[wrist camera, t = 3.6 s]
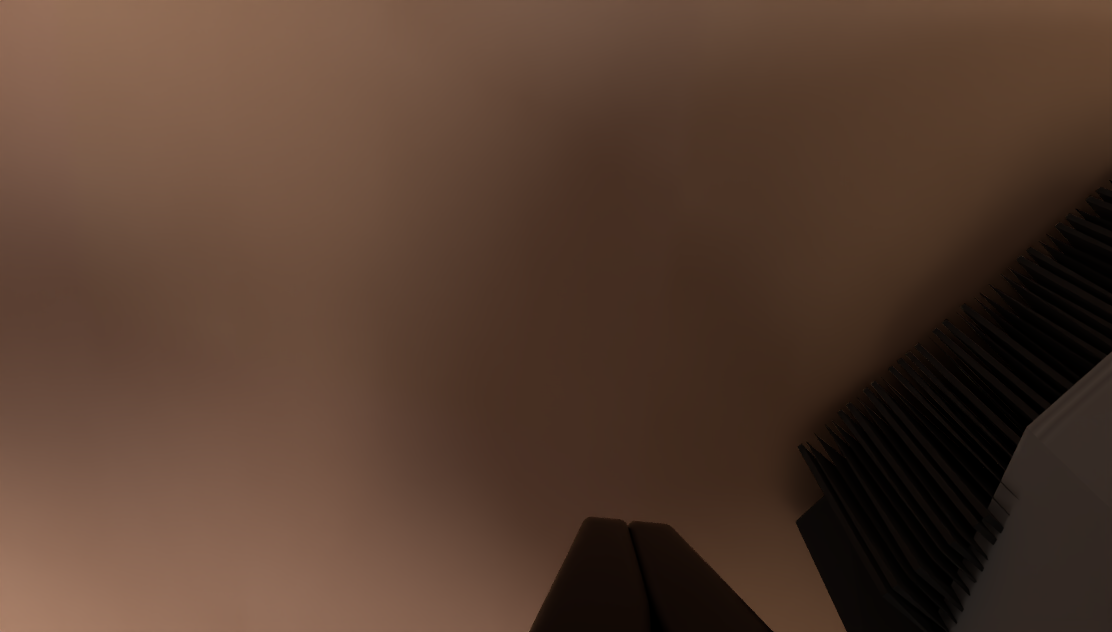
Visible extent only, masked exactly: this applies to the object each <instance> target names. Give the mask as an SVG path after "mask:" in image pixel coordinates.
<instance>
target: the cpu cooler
mask: <svg viewBox="0 0 1112 632" xmlns="http://www.w3.org/2000/svg"><path fill="white" fill-rule="evenodd" d="M1109 181H1110V182H1111V183H1112V181H1111V180H1109ZM1096 192H1097V193H1098V195H1099V196H1100V197H1101V198H1102V199H1103V201H1102V200H1100V199H1097V198H1095V197H1092V196H1089V197H1088V198H1087V199H1086V200H1085V201H1086V202H1087V203H1088V204H1089V205H1090V206H1091V208H1092V209H1093V210H1094V211H1095V212H1096V213H1097V215H1098V216H1099V217H1100V218H1098V217H1096V216H1093V215H1091V214H1088V213H1085V212H1083V211H1080V210H1078V209H1076V210H1077V211H1078V212H1079V213H1080V214H1081V216H1082V217H1083V218H1084V219H1085V220H1084V219H1082V218H1080V217H1077V216H1075V215H1073V214H1068V215H1067V216H1066V217H1065V218H1066V219H1067V220H1068V222H1069V223H1070V224H1071V225H1072V226H1073V227H1074V229H1073V228H1071V227H1069V226H1067V225H1065V224H1063V223H1061V222H1059V223H1058V224H1057V225H1056V226H1055V227H1056V228H1057V229H1058V231H1059V232H1060V233H1061V234H1062V235H1063V236H1064V237H1065V238H1066V239H1067V240H1068V241H1069V243H1070V244H1071V245H1072V246H1073V247H1072V246H1070V245H1068V244H1066V243H1064V242H1062V241H1060V240H1057V239H1055V238H1053V237H1051V236H1049V235H1047V234H1046V235H1047V236H1048V237H1049V238H1050V239H1051V240H1052V241H1053V242H1054V244H1055V245H1056V246H1057V247H1058V248H1059V249H1060V250H1061V252H1062V253H1061V252H1059V251H1057V250H1055V249H1053V248H1051V247H1050V246H1048V245H1046V244H1044V243H1042V242H1040V241H1039V242H1040V243H1041V244H1042V245H1043V246H1044V248H1045V249H1046V250H1047V251H1048V252H1049V253H1050V254H1051V255H1052V257H1053V258H1054V259H1055V260H1056V261H1057V262H1056V261H1054V260H1053V259H1051V258H1049V257H1047V256H1046V255H1044V254H1042V253H1041V252H1039V251H1037V250H1035V249H1034V248H1032V247H1030V248H1029V249H1028V250H1026V252H1027V253H1028V254H1029V255H1030V256H1031V257H1032V258H1033V259H1034V260H1035V262H1036V263H1037V264H1038V265H1037V264H1035V263H1033V262H1032V261H1030V260H1028V259H1026V258H1024V257H1023V256H1019V257H1018V258H1017V259H1016V260H1017V262H1018V263H1019V264H1020V265H1021V266H1022V267H1023V268H1024V269H1025V270H1026V271H1027V272H1028V274H1029V275H1030V276H1031V277H1032V278H1033V279H1034V280H1035V281H1036V282H1037V283H1036V282H1034V281H1032V280H1031V279H1029V278H1027V277H1025V276H1023V275H1021V274H1020V273H1018V272H1016V271H1014V270H1012V269H1010V268H1009V267H1008V268H1009V269H1010V270H1011V271H1012V272H1013V273H1014V275H1015V276H1016V277H1017V278H1018V279H1019V280H1020V281H1021V282H1022V283H1023V284H1024V285H1025V287H1026V288H1027V289H1028V290H1029V291H1028V290H1027V289H1025V288H1023V287H1022V286H1020V285H1018V284H1017V283H1015V282H1013V281H1012V280H1010V279H1008V278H1007V277H1005V276H1003V275H1002V274H1001V275H1002V276H1003V277H1004V279H1005V280H1006V281H1007V282H1008V283H1009V284H1010V285H1011V286H1012V287H1013V288H1014V289H1015V290H1016V292H1017V293H1018V294H1019V295H1020V296H1021V297H1022V298H1023V299H1024V300H1025V301H1026V302H1027V303H1028V304H1029V306H1030V307H1031V308H1032V309H1033V310H1034V311H1033V310H1031V309H1030V308H1028V307H1026V306H1025V305H1023V304H1021V303H1020V302H1018V301H1016V300H1015V299H1013V298H1011V297H1010V296H1008V295H1006V294H1005V293H1003V292H1001V291H1000V290H998V289H996V288H995V287H993V286H992V285H990V284H989V285H990V286H991V287H992V288H993V289H994V290H995V291H996V292H997V293H998V295H999V296H1000V297H1001V298H1002V299H1003V300H1004V301H1005V302H1006V303H1007V304H1008V305H1009V306H1010V307H1011V308H1012V309H1013V310H1014V312H1015V313H1016V314H1017V315H1018V316H1019V317H1020V318H1019V317H1017V316H1016V315H1014V314H1013V313H1011V312H1010V311H1008V310H1006V309H1005V308H1003V307H1002V306H1000V305H999V304H997V303H995V302H994V301H992V300H991V299H989V298H987V297H986V296H984V295H983V294H981V293H980V292H979V293H980V294H981V295H982V296H983V297H984V298H985V299H986V300H987V301H988V302H989V303H990V304H991V305H992V306H993V307H994V308H995V309H996V310H997V311H998V312H999V313H1000V314H1001V315H1002V316H1003V317H1004V318H1005V319H1006V320H1007V321H1008V322H1009V323H1010V324H1011V325H1012V326H1011V325H1010V324H1009V323H1007V322H1006V321H1005V320H1003V319H1002V318H1001V317H1000V316H998V315H997V314H996V313H994V312H993V311H992V310H990V309H989V308H988V307H986V306H985V305H984V304H982V303H981V302H980V301H978V300H977V299H976V298H975V299H976V300H977V301H978V302H979V304H980V305H981V306H982V307H983V308H984V309H985V310H986V311H987V312H988V313H989V314H990V316H991V317H992V318H993V319H994V320H995V321H996V322H997V323H998V324H999V325H1000V326H1001V328H1002V329H1003V330H1004V331H1005V332H1006V333H1007V334H1008V335H1009V336H1010V337H1011V338H1010V337H1009V336H1008V335H1006V334H1005V333H1004V332H1002V331H1001V330H1000V329H998V328H997V327H996V326H994V325H993V324H992V323H990V322H989V321H988V320H986V319H985V318H984V317H982V316H981V315H980V314H978V313H977V312H975V311H974V310H973V309H971V308H970V307H969V306H967V305H966V304H963V305H962V306H961V307H960V308H961V309H962V310H963V311H964V312H965V313H966V314H967V315H968V316H969V317H970V318H971V319H972V320H973V321H974V322H975V323H976V324H977V325H978V326H979V327H980V328H981V329H982V330H983V331H984V333H985V334H986V335H987V336H988V337H987V336H986V335H985V334H983V333H982V332H981V331H980V330H978V329H977V328H976V327H975V326H973V325H972V324H971V323H970V322H968V321H967V320H966V319H965V318H963V317H962V316H961V315H960V314H959V315H960V316H961V317H962V318H963V320H964V321H965V322H966V323H967V324H968V325H969V326H970V327H971V328H972V329H973V330H974V331H975V332H976V333H977V334H978V335H979V336H980V337H981V338H982V339H983V340H984V341H985V342H986V343H987V344H988V345H989V346H990V347H991V348H992V349H993V350H994V351H995V352H996V353H997V354H998V355H999V356H1000V357H1001V358H1002V359H1003V360H1004V361H1005V362H1006V364H1007V365H1008V366H1009V367H1010V368H1011V369H1012V370H1013V371H1014V372H1015V373H1016V374H1017V375H1018V376H1019V377H1020V378H1021V379H1022V380H1023V381H1024V382H1025V383H1026V384H1027V385H1026V384H1025V383H1024V382H1023V381H1021V380H1020V379H1019V378H1018V377H1017V376H1015V375H1014V374H1013V373H1012V372H1010V371H1009V370H1008V369H1007V368H1005V367H1004V366H1003V365H1002V364H1001V363H999V362H998V361H997V360H996V359H994V358H993V357H992V356H991V355H990V354H988V353H987V352H986V351H985V350H983V349H982V348H981V347H980V346H978V345H977V344H976V343H975V342H974V341H972V340H971V339H970V338H969V337H967V336H966V335H965V334H964V333H963V332H961V331H960V330H959V329H958V328H956V327H955V326H954V325H953V324H951V323H950V322H949V321H948V320H947V319H946V320H945V321H944V322H942V324H943V325H944V326H945V327H946V328H947V329H948V330H950V331H951V332H952V333H953V334H954V335H955V336H956V337H957V338H958V339H959V340H960V341H961V342H962V343H963V344H964V345H965V346H966V347H967V348H968V349H969V350H970V351H971V352H972V353H974V354H975V355H976V356H977V357H978V358H979V359H980V360H981V361H982V362H983V363H984V364H985V365H986V366H987V367H988V368H989V369H990V370H991V371H992V372H993V373H994V374H995V375H996V376H998V377H999V378H1000V379H1001V380H1002V381H1003V382H1004V383H1005V384H1006V385H1007V386H1008V387H1009V388H1010V389H1011V390H1012V391H1013V392H1014V393H1015V394H1016V395H1017V396H1016V395H1015V394H1014V393H1013V392H1012V391H1011V390H1009V389H1008V388H1007V387H1006V386H1005V385H1003V384H1002V383H1001V382H1000V381H999V380H998V379H996V378H995V377H994V376H993V375H992V374H991V373H989V372H988V371H987V370H986V369H985V368H984V367H982V366H981V365H980V364H979V363H978V362H977V361H975V360H974V359H973V358H972V357H971V356H970V355H968V354H967V353H966V352H965V351H964V350H963V349H961V348H960V347H959V346H958V345H957V344H955V343H954V342H953V341H952V340H951V339H950V338H948V337H947V336H946V335H945V334H944V333H943V332H941V331H940V330H939V329H938V328H935V329H934V330H933V331H932V332H933V333H934V334H935V335H936V336H937V337H938V338H939V339H940V340H941V341H942V342H943V343H944V344H945V345H946V346H947V347H948V348H949V349H950V350H951V351H952V352H953V353H954V354H955V355H956V356H957V357H958V358H959V359H960V360H961V361H962V362H963V363H964V364H965V365H966V366H967V367H968V368H969V369H970V370H971V371H972V372H973V373H974V374H975V375H976V376H977V377H978V378H979V379H980V380H981V381H982V382H983V383H984V384H985V385H986V386H987V387H988V388H989V389H990V390H991V391H992V392H993V393H994V394H995V395H996V396H997V397H998V398H999V399H1000V400H1001V401H1002V402H1003V403H1004V404H1005V405H1007V406H1008V407H1009V408H1010V409H1011V410H1012V411H1013V412H1014V413H1015V414H1016V415H1017V416H1018V417H1019V418H1020V419H1021V420H1022V421H1023V422H1024V423H1025V424H1026V425H1027V427H1026V429H1025V428H1024V427H1023V426H1022V425H1021V424H1020V423H1018V422H1017V421H1016V420H1015V419H1014V418H1013V417H1012V416H1011V415H1010V414H1009V413H1008V412H1007V411H1006V410H1005V409H1004V408H1003V407H1002V406H1001V405H1000V404H999V403H998V402H997V401H995V400H994V399H993V398H992V397H991V396H990V395H989V394H988V393H987V392H986V391H985V390H984V389H983V388H982V387H981V386H980V385H979V384H978V383H977V382H976V381H975V380H974V379H972V378H971V377H970V376H969V375H968V374H967V373H966V372H965V371H964V370H963V369H962V368H961V367H960V366H959V365H958V364H957V363H956V362H955V361H954V360H953V359H952V358H950V357H949V356H948V355H947V354H946V353H945V352H944V351H943V350H942V349H941V348H940V347H939V346H938V345H937V344H936V343H935V342H934V341H933V340H932V339H931V338H930V337H929V336H928V337H929V338H930V339H931V340H932V341H933V342H934V343H935V344H936V345H937V346H938V347H939V348H940V349H941V350H942V351H943V352H944V353H945V354H946V355H947V356H948V357H949V358H950V359H951V360H952V361H953V362H954V363H955V364H956V365H957V366H958V367H959V368H960V369H961V370H962V371H963V372H964V373H965V374H966V375H967V376H968V377H969V378H970V379H971V380H972V381H973V383H974V384H975V385H976V386H977V387H978V388H979V389H980V390H981V391H982V392H983V393H984V394H985V395H986V396H987V397H988V398H989V399H990V400H991V401H992V402H993V403H994V404H995V405H996V406H997V407H998V408H999V409H1000V410H1001V411H1002V412H1003V413H1004V414H1005V415H1006V416H1007V417H1008V418H1009V419H1010V420H1011V421H1012V422H1013V423H1014V424H1015V425H1016V426H1017V427H1018V428H1019V429H1020V431H1021V432H1022V433H1023V435H1022V438H1020V437H1019V436H1018V435H1017V434H1016V433H1015V432H1014V431H1012V430H1011V429H1010V428H1009V427H1008V426H1007V425H1006V424H1005V423H1004V422H1003V421H1002V420H1001V419H1000V418H999V417H997V416H996V415H995V414H994V413H993V412H992V411H991V410H990V409H989V408H988V407H987V406H986V405H985V404H984V403H982V402H981V401H980V400H979V399H978V398H977V397H976V396H975V395H974V394H973V393H972V392H971V391H970V390H969V389H968V388H966V387H965V386H964V385H963V384H962V383H961V382H960V381H959V380H958V379H957V378H956V377H955V376H954V375H953V374H951V373H950V372H949V371H948V370H947V369H946V368H945V367H944V366H943V365H942V364H941V363H940V362H939V361H938V360H936V359H935V358H934V357H933V356H932V355H931V354H930V353H929V352H928V351H927V350H926V349H925V348H924V347H923V346H921V345H920V344H919V343H918V344H917V345H916V346H914V347H915V348H916V349H917V350H918V351H919V352H920V353H921V354H922V355H923V356H924V357H925V358H926V359H927V360H928V361H929V362H930V363H931V364H932V365H933V366H934V367H935V368H936V369H937V370H938V371H939V372H940V373H941V374H942V375H943V376H944V377H945V378H946V379H947V380H948V381H949V382H950V383H952V384H953V385H954V386H955V387H956V388H957V389H958V390H959V391H960V392H961V393H962V394H963V395H964V396H965V397H966V398H967V399H968V400H969V401H970V402H971V403H972V404H973V405H974V406H975V407H976V408H977V409H978V410H979V411H980V412H981V413H982V414H983V415H984V416H985V417H986V418H987V419H988V420H989V421H990V422H991V423H992V424H993V425H994V426H995V427H996V428H997V429H998V430H999V431H1000V432H1001V433H1002V434H1003V435H1004V436H1005V437H1006V438H1007V439H1009V440H1010V441H1011V442H1012V443H1013V444H1014V445H1015V446H1016V447H1017V448H1016V450H1015V452H1012V451H1011V450H1010V449H1009V448H1008V447H1007V446H1006V445H1005V444H1004V443H1003V442H1002V441H1001V440H1000V439H999V438H998V437H997V436H996V435H995V434H994V433H993V432H992V431H991V430H990V429H989V428H988V427H987V426H986V425H985V424H984V423H983V422H982V421H981V420H980V419H979V418H978V417H977V416H976V415H975V414H974V413H973V412H972V411H971V410H970V409H969V408H968V407H967V406H965V405H964V404H963V403H962V402H961V401H960V400H959V399H958V398H957V397H956V396H955V395H954V394H953V393H952V392H951V391H950V390H949V389H948V388H947V387H946V386H945V385H944V384H943V383H942V382H941V381H940V380H939V379H938V378H937V377H936V376H935V375H934V374H933V373H932V372H931V371H930V370H929V369H928V368H927V367H926V366H925V365H924V364H923V363H922V362H921V361H920V360H918V359H917V358H916V357H915V356H914V355H913V354H912V353H911V352H910V351H909V352H907V353H906V354H905V355H906V356H907V357H908V358H909V359H910V360H911V361H912V362H913V363H914V364H915V365H916V366H917V367H918V368H919V369H920V370H921V371H922V372H923V373H924V374H925V375H926V376H927V377H928V378H929V379H930V380H931V381H933V382H934V383H935V384H936V385H937V386H938V387H939V388H940V389H941V390H942V391H943V392H944V393H945V394H946V395H947V396H948V397H949V398H950V399H951V400H952V401H953V402H954V403H955V404H956V405H957V406H958V407H959V408H960V409H961V410H962V411H963V412H964V413H965V414H966V415H967V416H968V417H969V418H970V419H971V420H972V421H973V422H974V423H975V424H976V425H977V426H978V427H979V428H980V429H981V430H982V431H983V432H984V433H985V434H986V435H987V436H988V437H989V438H990V439H991V440H992V441H993V442H994V443H996V444H997V445H998V446H999V447H1000V448H1001V449H1002V450H1003V451H1004V452H1005V453H1006V454H1007V455H1008V456H1009V457H1010V458H1011V461H1010V463H1009V462H1008V461H1007V460H1006V459H1005V458H1004V457H1003V456H1002V455H1001V454H1000V453H999V452H998V451H997V450H996V449H995V448H994V447H993V446H992V445H991V444H990V443H989V442H988V441H987V440H986V439H985V438H984V437H983V436H981V435H980V434H979V433H978V432H977V431H976V430H975V429H974V428H973V427H972V426H971V425H970V424H969V423H968V422H967V421H966V420H965V419H964V418H963V417H962V416H961V415H960V414H959V413H958V412H957V411H956V410H955V409H954V408H953V407H952V406H951V405H950V404H949V403H948V402H946V401H945V400H944V399H943V398H942V397H941V396H940V395H939V394H938V393H937V392H936V391H935V390H934V389H933V388H932V387H931V386H930V385H929V384H928V383H927V382H926V381H925V380H924V379H923V378H922V377H921V376H920V375H919V374H918V373H917V372H916V371H915V370H914V369H913V368H911V367H910V366H909V365H908V364H907V363H906V362H905V361H904V360H903V359H902V358H900V359H899V360H898V361H897V362H898V363H899V364H900V365H901V366H902V367H903V368H904V369H905V370H906V371H907V372H908V373H909V374H910V375H911V376H912V377H913V378H914V379H915V380H916V381H917V382H918V383H919V384H920V385H921V386H922V387H923V388H924V389H925V390H926V391H927V392H928V393H929V394H930V395H931V396H932V397H933V398H934V399H935V400H936V401H937V403H938V404H939V405H940V406H941V407H942V408H943V409H944V410H945V411H946V412H947V413H948V414H949V415H950V416H951V417H952V418H953V419H954V420H955V421H956V422H957V423H958V424H959V425H960V426H961V427H962V428H963V429H964V430H965V431H966V432H967V433H968V434H969V435H970V436H971V437H972V438H973V439H974V440H975V441H976V442H977V443H978V444H979V445H980V446H981V447H982V448H983V449H984V450H985V451H986V452H987V453H988V454H989V455H990V456H991V457H992V458H993V459H994V460H995V461H996V462H997V463H998V464H999V465H1000V466H1001V467H1002V468H1003V469H1004V470H1005V473H1003V472H1002V471H1001V470H1000V469H999V468H998V467H997V466H996V465H994V464H993V463H992V462H991V461H990V460H989V459H988V458H987V457H986V456H985V455H984V454H983V453H982V452H981V451H980V450H979V449H978V448H977V447H976V446H975V445H974V444H973V443H972V442H971V441H970V440H969V439H968V438H967V437H966V436H965V435H964V434H962V433H961V432H960V431H959V430H958V429H957V428H956V427H955V426H954V425H953V424H952V423H951V422H950V421H949V420H948V419H947V418H946V417H945V416H944V415H943V414H942V413H941V412H940V411H939V410H938V409H937V408H936V407H935V406H934V405H933V404H931V403H930V402H929V401H928V400H927V399H926V398H925V397H924V396H923V395H922V394H921V393H920V392H919V391H918V390H917V389H916V388H915V387H914V386H913V385H912V384H911V383H910V382H909V381H908V380H907V379H906V378H905V377H904V376H903V375H902V374H901V373H899V372H898V371H897V370H896V369H895V368H894V367H893V366H891V367H890V368H889V369H888V370H889V371H890V372H891V373H892V374H893V375H894V376H895V377H896V378H897V379H898V380H899V381H900V382H901V383H902V384H903V385H904V386H905V387H906V388H907V389H908V390H909V391H910V392H911V393H912V394H913V395H914V396H915V397H916V398H917V399H918V400H919V401H920V402H921V403H922V404H923V405H924V406H925V407H926V408H927V409H928V410H929V411H930V412H931V413H932V414H933V415H934V416H935V417H936V418H937V419H938V420H939V421H940V422H941V423H942V424H943V425H944V426H945V427H946V428H947V429H948V430H949V431H950V432H951V433H952V434H953V435H954V436H955V437H956V438H957V439H958V440H959V441H960V442H961V443H962V444H963V445H964V446H965V447H966V448H967V449H968V450H969V451H970V452H971V453H972V454H973V455H974V456H975V457H976V458H977V459H978V460H979V461H980V462H981V463H982V464H983V465H984V466H985V467H986V468H987V469H988V470H989V471H990V472H991V473H988V472H987V471H986V470H985V469H984V468H983V467H982V466H981V465H979V464H978V463H977V462H976V461H975V460H974V459H973V458H972V457H970V456H969V455H968V454H967V453H966V452H965V451H964V450H963V449H961V448H960V447H959V446H958V445H957V444H956V443H955V442H954V441H952V440H951V439H950V438H949V437H948V436H947V435H946V434H945V433H943V432H942V431H941V430H940V429H939V428H938V427H937V426H936V425H934V424H933V423H932V422H931V421H930V420H929V419H928V418H927V417H925V416H924V415H923V414H922V413H921V412H920V411H919V410H918V409H916V408H915V407H914V406H913V405H912V404H911V403H910V402H909V401H907V400H906V399H905V398H904V397H903V396H902V395H901V394H900V393H898V392H897V391H896V390H895V389H894V388H893V387H892V386H891V385H889V384H888V383H887V382H886V381H885V380H884V379H883V378H882V377H881V378H882V379H883V380H884V381H885V382H886V383H887V384H888V385H889V386H890V388H891V389H892V390H893V391H894V392H895V393H896V394H897V395H898V396H899V397H900V398H901V399H902V401H903V402H904V403H905V404H906V405H907V406H908V407H909V408H910V409H911V410H912V411H913V412H914V414H915V415H916V416H917V417H918V418H919V419H920V420H921V421H922V422H923V423H924V424H925V426H926V427H927V428H928V429H929V430H930V431H931V432H932V433H933V434H934V435H935V436H936V437H937V439H938V440H939V441H940V442H941V443H942V444H943V445H944V446H945V447H946V448H947V449H948V450H949V451H948V450H947V449H946V448H945V447H944V446H943V445H942V444H941V443H940V442H939V441H938V440H937V439H936V438H935V437H934V436H933V435H932V434H931V433H930V432H928V431H927V430H926V429H925V428H924V427H923V426H922V425H921V424H920V423H919V422H918V421H917V420H916V419H915V418H914V417H913V416H912V415H911V414H910V413H909V412H908V411H906V410H905V409H904V408H903V407H902V406H901V405H900V404H899V403H898V402H897V401H896V400H895V399H894V398H893V397H892V396H891V395H890V394H889V393H888V392H887V391H886V390H884V389H883V388H882V387H881V386H880V385H879V384H878V383H877V382H876V381H874V382H872V383H871V385H872V386H873V387H874V389H875V390H876V391H877V392H878V393H879V394H880V396H881V397H882V398H883V399H884V400H885V402H886V403H887V404H888V405H889V406H890V408H891V409H892V410H893V411H894V412H895V413H894V412H893V411H892V410H891V409H890V408H889V407H887V406H886V405H885V404H884V403H883V402H882V401H881V400H880V399H879V398H878V397H877V396H876V395H875V394H874V393H873V392H872V391H871V390H870V389H868V388H865V389H864V390H863V392H864V393H865V394H866V395H867V397H868V398H869V399H870V400H871V401H872V403H873V404H874V405H875V406H876V408H877V409H878V410H879V411H880V413H881V414H882V415H883V416H884V418H885V419H886V420H887V421H888V423H889V424H890V425H891V426H892V428H893V429H894V430H895V431H896V432H895V431H894V430H893V429H892V428H891V427H890V426H889V425H888V424H887V423H885V422H884V421H883V420H882V419H881V418H880V417H879V416H878V415H877V414H875V413H874V412H873V411H872V410H871V409H870V408H869V407H868V406H866V405H865V404H864V403H863V402H862V401H861V400H860V399H859V398H858V397H857V398H858V399H859V401H860V402H861V403H862V405H863V406H864V407H865V409H866V410H867V411H868V413H869V414H870V415H871V417H872V418H873V419H874V421H875V422H876V423H877V425H878V426H879V427H880V429H881V430H882V431H883V432H882V431H881V430H880V429H879V428H877V427H876V426H875V425H874V424H873V423H872V422H871V421H870V420H869V419H868V418H867V417H866V416H865V415H864V414H863V413H862V412H860V411H859V410H858V409H857V408H856V407H855V406H854V405H853V404H852V403H851V402H849V403H848V404H847V405H846V406H847V407H848V409H849V410H850V411H851V413H852V414H853V416H854V417H855V418H856V420H857V421H858V422H859V424H860V425H861V426H862V428H863V429H864V430H865V431H864V430H863V429H862V428H861V427H860V426H859V425H858V424H857V423H856V422H855V421H853V420H852V419H851V418H850V417H849V416H848V415H847V414H846V413H845V412H844V411H843V410H842V409H841V410H840V411H839V412H837V413H838V414H839V416H840V417H841V418H842V420H843V421H844V422H845V424H846V425H847V426H848V428H849V429H850V430H851V432H852V433H853V434H854V436H855V437H856V438H857V440H858V441H859V442H860V443H859V442H858V441H857V440H855V439H854V438H853V437H852V436H851V435H849V434H848V433H847V432H846V431H845V430H843V429H842V428H841V427H840V426H839V425H837V424H836V423H835V422H834V421H832V422H833V423H834V425H835V426H836V427H837V429H838V430H839V432H840V433H841V434H842V436H843V437H844V438H845V440H846V441H847V443H848V444H849V445H850V446H849V445H848V444H847V443H845V442H844V441H843V440H842V439H841V438H840V437H839V436H838V435H837V434H835V433H834V432H833V431H832V430H831V429H830V428H829V427H828V426H827V425H826V427H827V429H828V430H829V432H830V434H831V435H832V437H833V438H834V440H835V442H836V443H837V445H838V447H839V448H840V450H841V452H842V453H843V455H844V457H845V458H844V457H843V456H842V455H841V454H839V453H838V452H837V451H836V450H834V449H833V448H832V447H831V446H829V445H828V444H827V443H826V442H825V441H823V440H822V439H821V438H820V437H818V436H817V435H816V434H815V433H814V434H815V435H816V437H817V438H818V440H819V442H820V443H821V445H822V446H823V448H824V449H825V451H826V452H827V454H828V455H829V457H830V458H831V460H832V461H833V463H834V464H835V465H834V464H832V463H831V462H830V461H829V460H828V459H827V458H825V457H824V456H823V455H822V454H821V453H820V452H818V451H817V450H816V449H815V448H814V447H813V446H811V445H810V444H809V443H808V442H807V441H806V440H805V441H806V442H807V444H808V446H809V447H810V449H811V451H812V453H813V454H814V456H815V457H814V456H813V455H812V454H811V453H810V452H809V451H808V450H807V449H806V448H805V447H804V446H803V444H802V443H801V444H800V445H799V446H798V449H799V451H800V452H801V454H802V456H803V458H804V459H805V461H806V463H807V465H808V467H809V468H810V470H811V472H812V474H813V475H814V477H815V479H816V481H817V482H818V484H819V486H820V488H821V490H822V491H823V493H824V496H823V497H822V498H821V499H820V500H819V501H818V502H817V503H815V504H814V505H813V506H812V507H811V508H810V509H809V510H808V511H807V512H806V513H804V514H803V515H802V516H801V517H800V518H799V519H798V520H797V521H796V524H797V527H798V529H799V531H800V533H801V535H802V537H803V539H804V541H805V544H806V546H807V548H808V550H809V552H810V554H811V556H812V559H813V561H814V563H815V565H816V567H817V569H818V571H819V573H820V576H821V578H822V580H823V582H824V584H825V586H826V588H827V591H828V593H829V595H830V597H831V599H832V601H833V603H834V605H835V608H836V610H837V612H838V614H839V616H840V618H841V620H842V623H843V625H844V627H845V629H846V631H847V632H1112V191H1111V190H1108V189H1106V188H1103V187H1100V188H1099V189H1098V190H1096ZM1020 398H1021V399H1022V400H1023V401H1024V402H1023V401H1022V400H1021V399H1020Z"/></svg>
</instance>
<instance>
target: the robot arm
mask: <svg viewBox="0 0 1112 632" xmlns="http://www.w3.org/2000/svg"><path fill="white" fill-rule="evenodd" d="M529 632H773V631H772V630H771V629H770V628H769V627H768V626H767V625H766V624H765V623H764V622H763V621H762V620H761V619H760V617H759V616H758V615H757V614H756V613H755V612H754V611H753V610H752V609H751V608H750V607H749V606H748V605H747V604H746V603H745V602H744V601H743V600H742V599H741V598H740V597H739V596H738V595H737V594H736V593H735V592H734V591H733V590H732V589H731V587H730V586H729V585H728V584H727V583H726V582H725V581H724V580H723V579H722V578H721V577H720V576H719V575H718V574H717V573H716V572H715V571H714V570H713V569H712V568H711V567H710V566H709V565H708V564H707V563H706V562H705V561H704V560H703V559H702V558H701V556H700V555H699V554H698V553H697V552H696V551H695V550H694V549H693V548H692V547H691V546H690V545H689V544H688V543H687V542H686V541H685V540H684V539H683V538H682V537H681V536H680V535H679V534H678V533H677V532H676V531H675V530H674V529H673V528H672V527H671V526H670V525H668V524H664V523H653V522H642V521H632V522H630V523H629V524H628V525H627V523H626V522H624V521H623V520H620V519H610V518H600V517H588V518H586V519H585V520H584V522H583V523H582V525H581V528H580V530H579V532H578V534H577V536H576V538H575V540H574V542H573V544H572V546H571V548H570V550H569V552H568V554H567V556H566V558H565V560H564V562H563V564H562V566H561V568H560V570H559V572H558V574H557V576H556V578H555V580H554V582H553V584H552V586H551V588H550V591H549V593H548V595H547V597H546V599H545V601H544V603H543V605H542V607H541V609H540V611H539V613H538V615H537V617H536V619H535V621H534V623H533V625H532V627H531V629H530V631H529Z"/></svg>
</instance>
